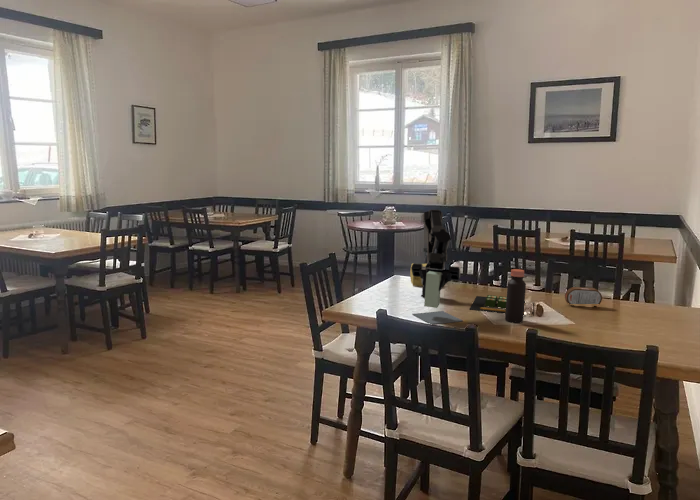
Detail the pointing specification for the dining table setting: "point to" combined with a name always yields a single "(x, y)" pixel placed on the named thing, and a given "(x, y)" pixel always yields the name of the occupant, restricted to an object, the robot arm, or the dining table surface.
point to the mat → (437, 317)
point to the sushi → (489, 303)
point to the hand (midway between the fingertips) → (432, 289)
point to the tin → (583, 296)
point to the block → (432, 289)
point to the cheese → (415, 278)
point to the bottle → (515, 297)
